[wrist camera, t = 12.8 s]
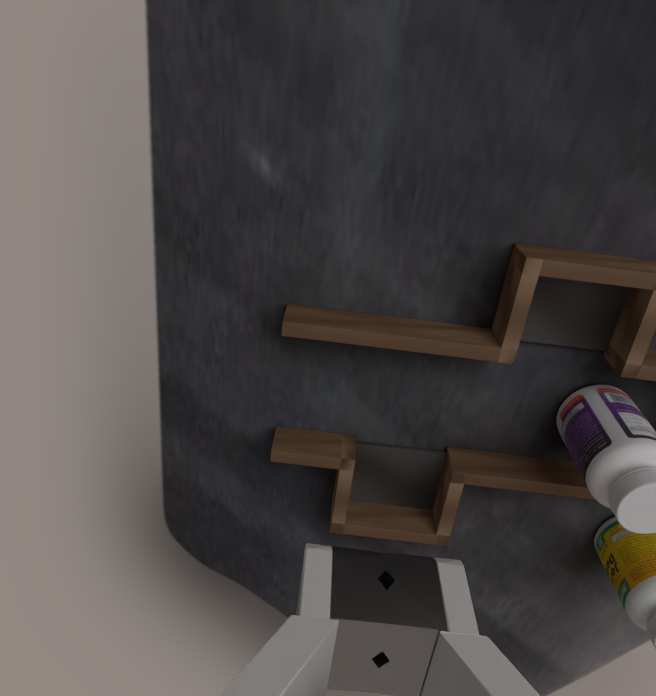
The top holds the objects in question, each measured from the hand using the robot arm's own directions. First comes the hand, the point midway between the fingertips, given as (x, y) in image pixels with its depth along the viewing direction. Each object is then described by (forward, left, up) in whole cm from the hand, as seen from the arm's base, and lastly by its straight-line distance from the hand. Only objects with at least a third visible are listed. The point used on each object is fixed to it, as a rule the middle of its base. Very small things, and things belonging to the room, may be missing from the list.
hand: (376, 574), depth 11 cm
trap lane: (+12, +12, -29) cm, 33 cm away
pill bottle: (+12, +19, -29) cm, 36 cm away
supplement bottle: (+23, +25, -29) cm, 44 cm away
